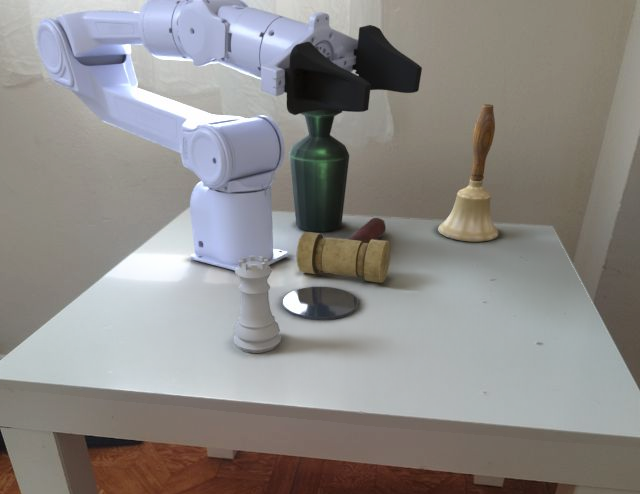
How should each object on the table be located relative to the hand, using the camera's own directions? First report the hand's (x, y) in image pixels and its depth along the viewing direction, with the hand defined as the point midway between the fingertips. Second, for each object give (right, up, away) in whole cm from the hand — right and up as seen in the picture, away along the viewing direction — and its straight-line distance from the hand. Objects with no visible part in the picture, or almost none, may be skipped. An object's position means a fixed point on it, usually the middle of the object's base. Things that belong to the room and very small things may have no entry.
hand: (393, 88), depth 54 cm
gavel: (-1, -8, +24) cm, 26 cm away
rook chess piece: (-12, -22, +4) cm, 26 cm away
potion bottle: (-7, -1, +34) cm, 35 cm away
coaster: (-6, -17, +11) cm, 21 cm away
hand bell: (+14, -3, +32) cm, 35 cm away
